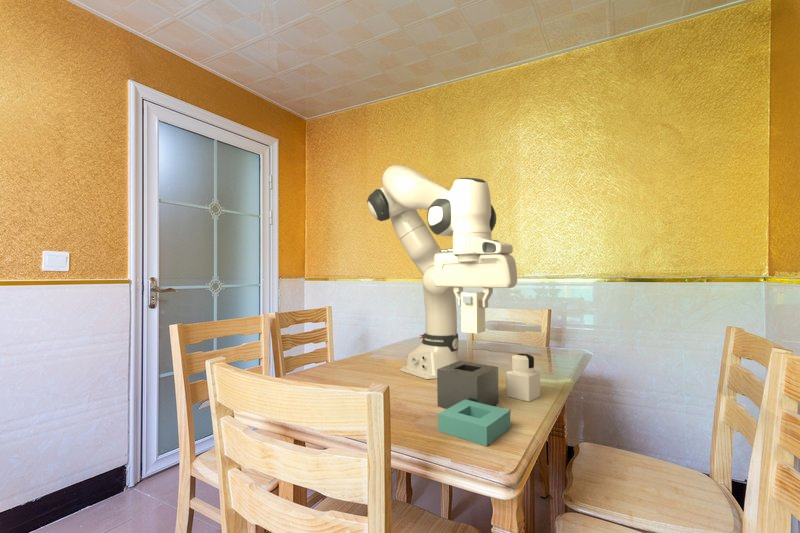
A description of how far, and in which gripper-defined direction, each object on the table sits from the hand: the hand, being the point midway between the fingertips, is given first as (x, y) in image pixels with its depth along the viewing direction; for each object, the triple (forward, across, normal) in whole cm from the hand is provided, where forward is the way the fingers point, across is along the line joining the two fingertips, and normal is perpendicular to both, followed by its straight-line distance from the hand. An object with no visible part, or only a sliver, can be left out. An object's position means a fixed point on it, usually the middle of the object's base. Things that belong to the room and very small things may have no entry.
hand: (472, 307), depth 87 cm
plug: (+6, 0, 0) cm, 6 cm away
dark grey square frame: (+28, -9, +13) cm, 32 cm away
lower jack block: (+28, 0, 0) cm, 28 cm away
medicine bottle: (+28, 0, +29) cm, 41 cm away
